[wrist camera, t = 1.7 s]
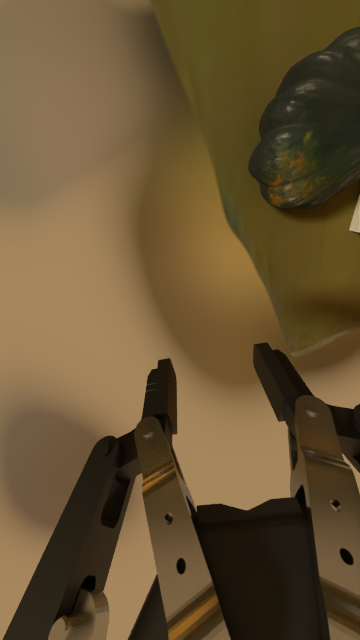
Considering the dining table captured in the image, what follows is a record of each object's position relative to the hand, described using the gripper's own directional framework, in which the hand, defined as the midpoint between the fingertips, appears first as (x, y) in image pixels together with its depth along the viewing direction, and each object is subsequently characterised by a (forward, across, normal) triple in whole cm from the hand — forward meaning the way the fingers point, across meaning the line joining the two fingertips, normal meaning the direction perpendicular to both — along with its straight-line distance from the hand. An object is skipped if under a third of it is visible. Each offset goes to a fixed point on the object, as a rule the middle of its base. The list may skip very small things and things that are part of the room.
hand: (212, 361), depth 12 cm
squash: (+29, -18, -11) cm, 36 cm away
